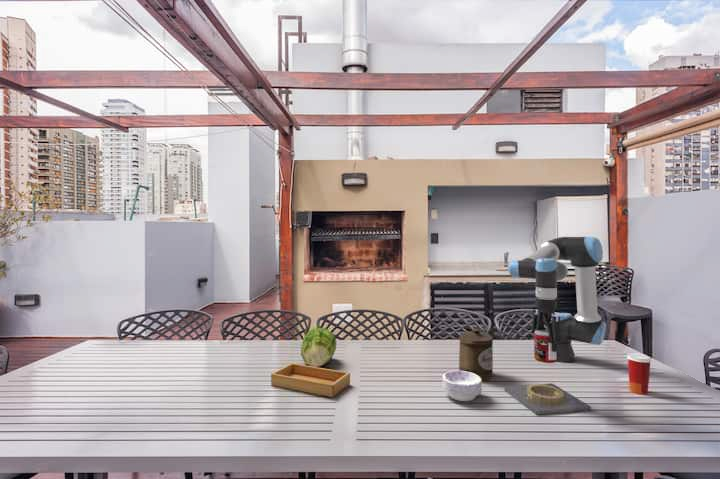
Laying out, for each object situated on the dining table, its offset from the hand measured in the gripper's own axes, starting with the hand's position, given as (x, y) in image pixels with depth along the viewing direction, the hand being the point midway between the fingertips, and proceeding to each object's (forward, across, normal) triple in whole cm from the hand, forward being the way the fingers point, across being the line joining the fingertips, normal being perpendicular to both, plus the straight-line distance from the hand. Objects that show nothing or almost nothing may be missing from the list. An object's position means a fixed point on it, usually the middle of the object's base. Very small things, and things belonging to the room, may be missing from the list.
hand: (545, 355), depth 150 cm
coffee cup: (+17, -1, +43) cm, 46 cm away
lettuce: (+18, -55, -86) cm, 104 cm away
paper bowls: (+18, -8, -31) cm, 37 cm away
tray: (+18, -29, -91) cm, 97 cm away
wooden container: (+18, -29, -15) cm, 37 cm away
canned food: (+2, 0, 0) cm, 2 cm away
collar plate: (+17, 0, 0) cm, 17 cm away
